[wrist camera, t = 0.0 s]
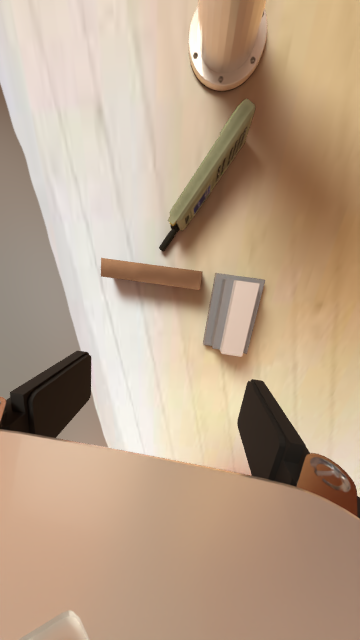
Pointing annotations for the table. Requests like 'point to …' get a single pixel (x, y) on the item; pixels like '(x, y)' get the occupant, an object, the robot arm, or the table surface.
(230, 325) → the ridge stand
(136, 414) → the table surface
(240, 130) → the handheld radio
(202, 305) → the table surface
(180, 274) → the walnut bar
